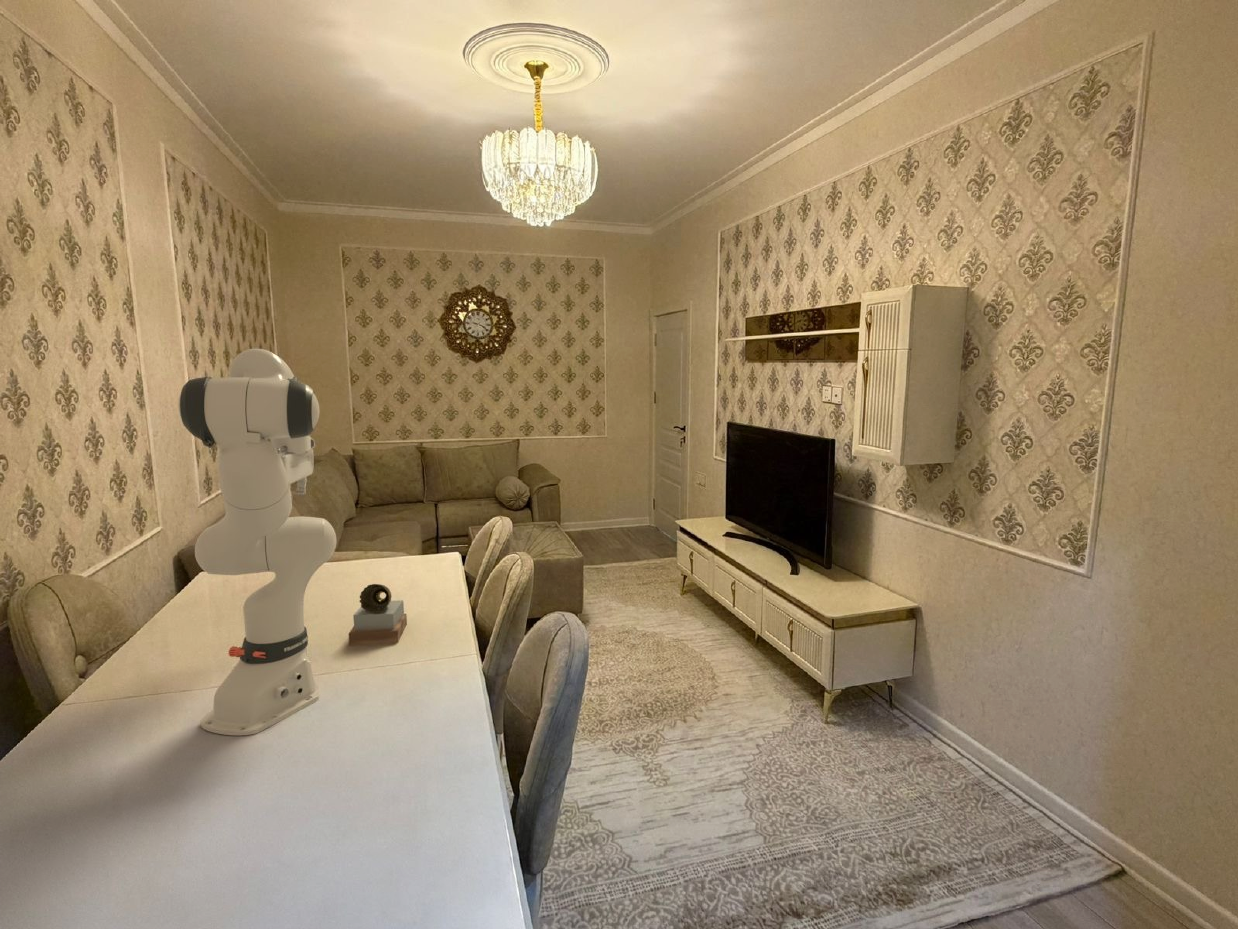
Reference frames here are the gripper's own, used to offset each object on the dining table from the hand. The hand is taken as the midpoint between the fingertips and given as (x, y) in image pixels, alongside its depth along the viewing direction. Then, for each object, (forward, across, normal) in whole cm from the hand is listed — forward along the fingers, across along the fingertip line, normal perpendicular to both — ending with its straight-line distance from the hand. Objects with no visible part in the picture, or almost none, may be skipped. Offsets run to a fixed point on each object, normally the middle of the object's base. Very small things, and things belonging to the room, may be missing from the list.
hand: (294, 497), depth 163 cm
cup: (+28, +2, -20) cm, 34 cm away
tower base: (+38, -3, -20) cm, 43 cm away
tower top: (+34, -2, -20) cm, 39 cm away
